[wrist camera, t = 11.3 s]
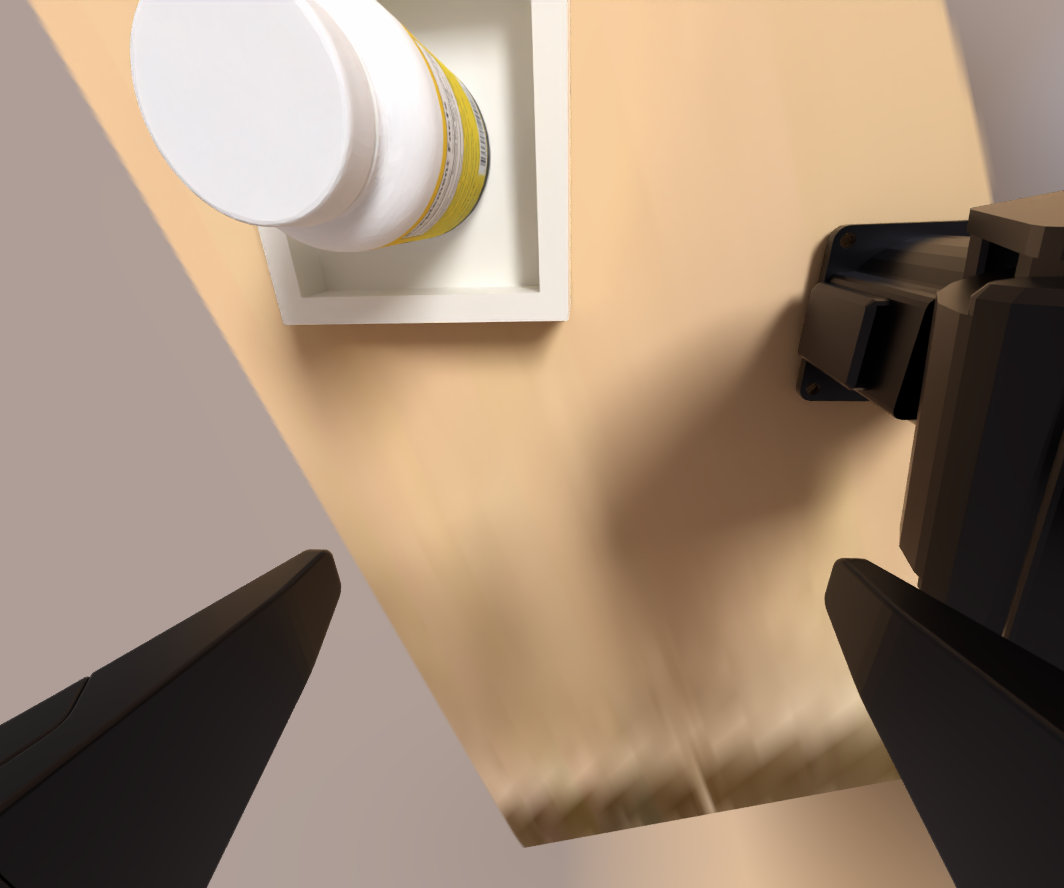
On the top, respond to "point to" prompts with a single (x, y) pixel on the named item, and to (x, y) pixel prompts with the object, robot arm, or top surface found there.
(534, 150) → the plastic tray
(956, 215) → the top surface
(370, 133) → the supplement bottle
